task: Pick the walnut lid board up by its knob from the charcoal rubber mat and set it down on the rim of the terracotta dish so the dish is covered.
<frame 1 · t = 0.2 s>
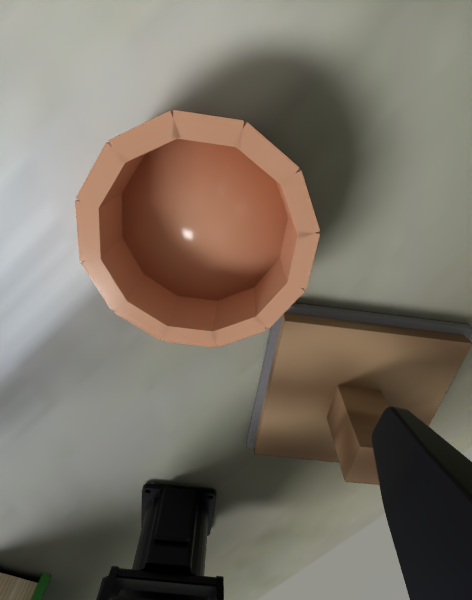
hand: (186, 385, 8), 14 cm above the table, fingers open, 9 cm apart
lid: (348, 394, 26), point 1 cm above the table, touching mat
bowl: (205, 221, 20), on the table
mat: (346, 388, 26), on the table
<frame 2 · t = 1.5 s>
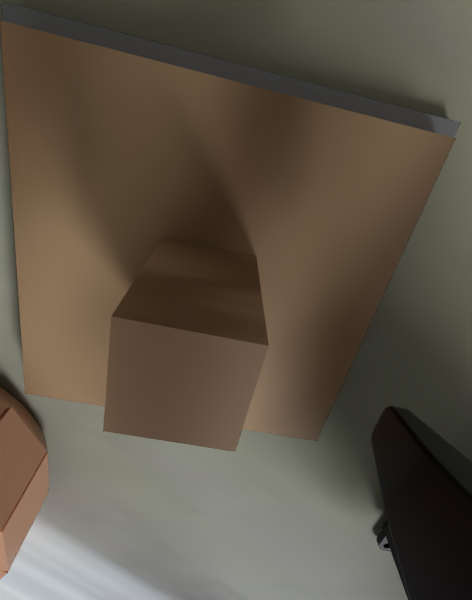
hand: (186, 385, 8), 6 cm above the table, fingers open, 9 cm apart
lid: (204, 276, 13), point 1 cm above the table, touching mat
mat: (205, 270, 13), on the table
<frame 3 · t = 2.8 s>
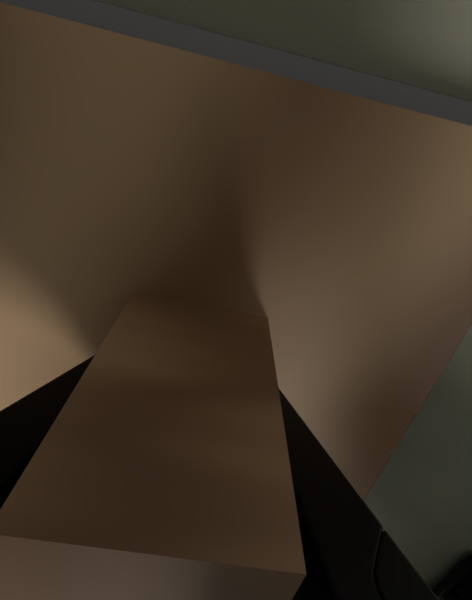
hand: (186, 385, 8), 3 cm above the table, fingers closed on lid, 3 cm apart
lid: (195, 336, 9), point 1 cm above the table, touching gripper, mat
mat: (197, 324, 10), on the table
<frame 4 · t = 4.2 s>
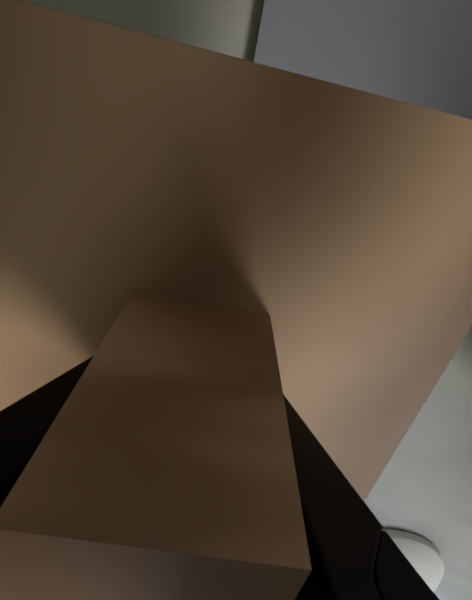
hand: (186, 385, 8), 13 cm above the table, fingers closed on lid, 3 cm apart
candlestick: (370, 566, 34), on the table
lid: (197, 334, 9), point 11 cm above the table, touching gripper
mat: (383, 120, 17), on the table
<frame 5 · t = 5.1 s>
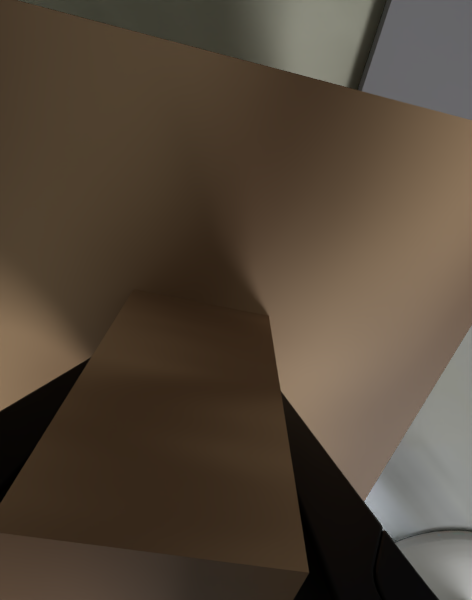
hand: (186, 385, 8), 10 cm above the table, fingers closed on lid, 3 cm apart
candlestick: (431, 572, 30), on the table
lid: (196, 334, 9), point 8 cm above the table, touching gripper
when the fingers open (7 cm above the table, at t = 5.8 s): lid stays where it is, resting on bowl.
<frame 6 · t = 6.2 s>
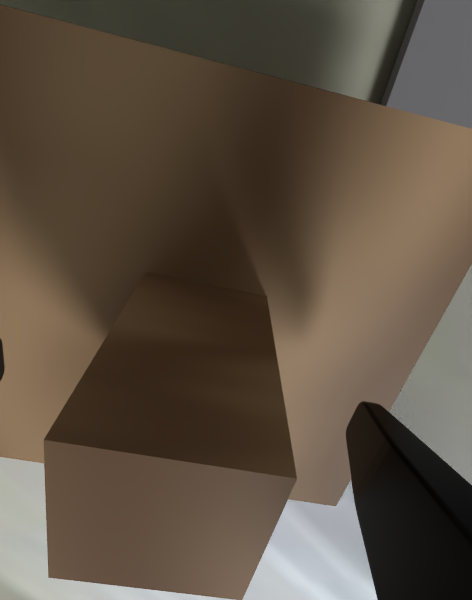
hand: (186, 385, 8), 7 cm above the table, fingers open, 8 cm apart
lid: (200, 316, 10), point 4 cm above the table, touching bowl
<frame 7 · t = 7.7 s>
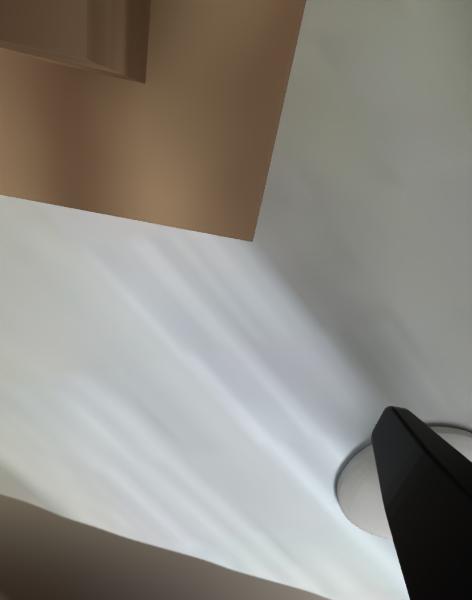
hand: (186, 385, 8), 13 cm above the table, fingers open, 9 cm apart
candlestick: (414, 481, 29), on the table
lid: (109, 23, 11), point 4 cm above the table, touching bowl
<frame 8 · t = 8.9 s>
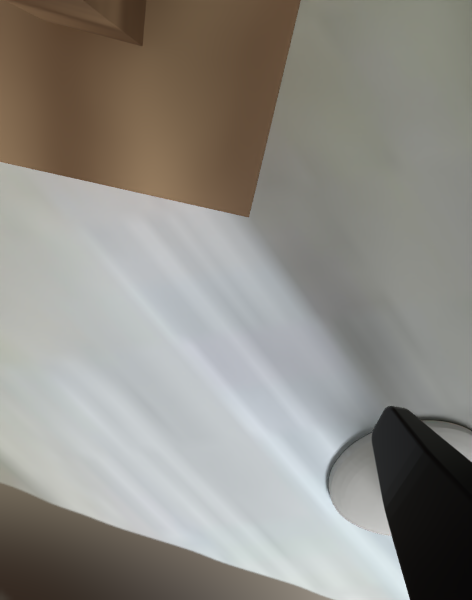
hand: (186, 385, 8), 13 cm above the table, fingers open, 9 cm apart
candlestick: (407, 475, 29), on the table
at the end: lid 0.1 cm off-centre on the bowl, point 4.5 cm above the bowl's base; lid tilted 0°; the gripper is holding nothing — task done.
